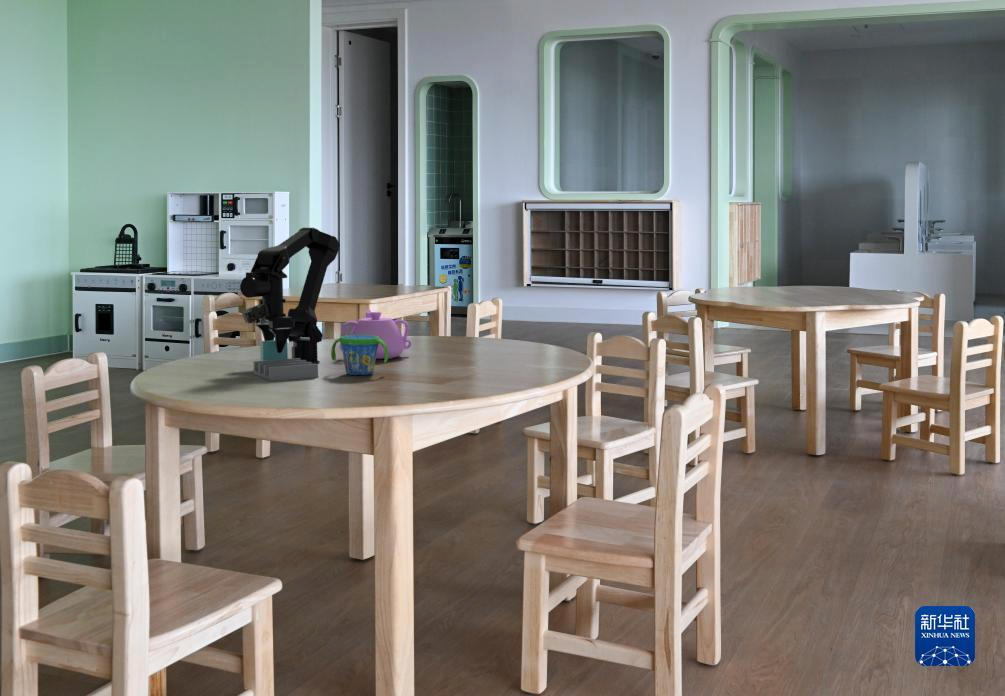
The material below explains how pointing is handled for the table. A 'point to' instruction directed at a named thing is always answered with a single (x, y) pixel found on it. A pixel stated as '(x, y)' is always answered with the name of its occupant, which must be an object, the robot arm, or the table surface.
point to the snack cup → (359, 353)
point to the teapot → (381, 333)
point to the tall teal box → (272, 351)
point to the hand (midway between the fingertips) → (274, 351)
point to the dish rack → (285, 369)
